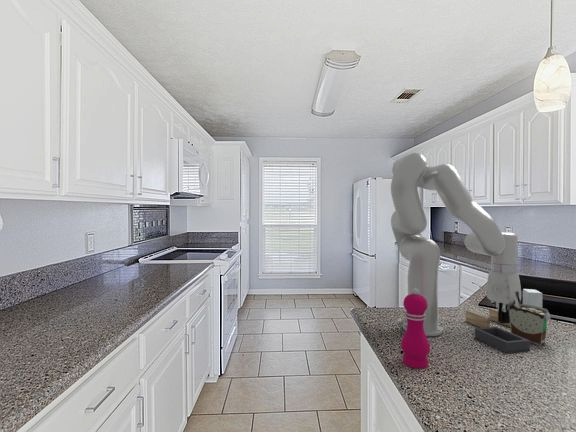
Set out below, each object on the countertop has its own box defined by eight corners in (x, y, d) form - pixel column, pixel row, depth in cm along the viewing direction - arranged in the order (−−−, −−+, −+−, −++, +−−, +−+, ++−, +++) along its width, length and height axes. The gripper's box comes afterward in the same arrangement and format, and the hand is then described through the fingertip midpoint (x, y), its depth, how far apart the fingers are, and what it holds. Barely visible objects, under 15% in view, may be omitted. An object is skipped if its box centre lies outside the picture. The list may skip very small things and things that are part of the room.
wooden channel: (487, 330, 114) (487, 318, 114) (465, 321, 124) (465, 310, 124) (515, 327, 116) (515, 316, 116) (492, 318, 126) (492, 308, 126)
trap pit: (506, 353, 95) (506, 342, 95) (474, 338, 107) (474, 328, 107) (530, 350, 97) (530, 340, 97) (496, 336, 109) (496, 326, 109)
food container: (560, 344, 102) (560, 311, 101) (546, 347, 99) (546, 313, 99) (520, 331, 113) (520, 301, 113) (506, 333, 111) (506, 303, 111)
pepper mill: (427, 372, 84) (427, 292, 84) (397, 365, 88) (397, 289, 88) (432, 361, 90) (432, 287, 90) (404, 355, 94) (404, 284, 94)
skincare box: (542, 327, 117) (543, 293, 117) (528, 326, 118) (528, 292, 118) (535, 322, 123) (535, 289, 123) (522, 321, 124) (522, 288, 124)
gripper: (477, 265, 121) (477, 316, 121) (514, 272, 106) (513, 330, 106) (495, 264, 122) (495, 315, 122) (533, 271, 108) (533, 329, 108)
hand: (503, 322), depth 114 cm, fingers closed
